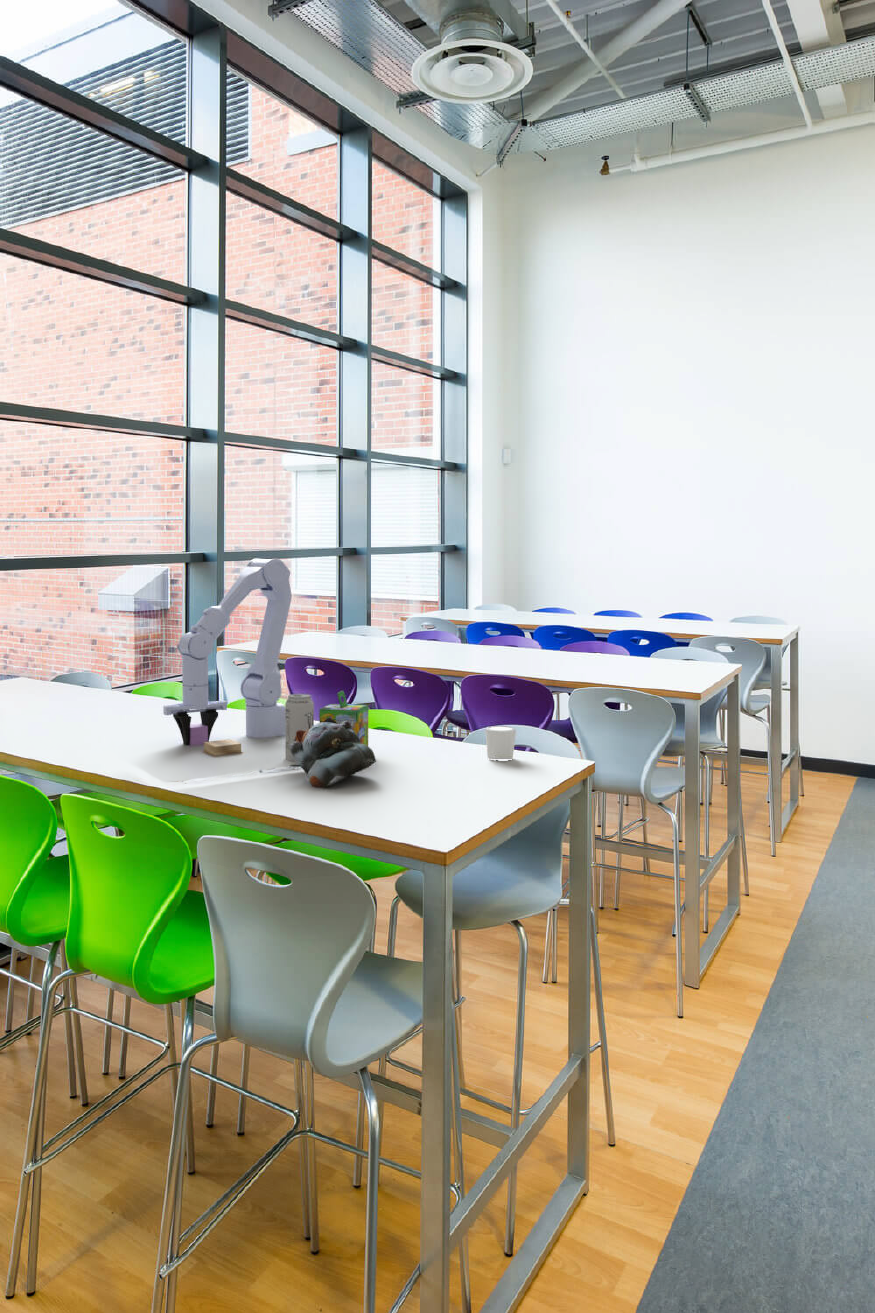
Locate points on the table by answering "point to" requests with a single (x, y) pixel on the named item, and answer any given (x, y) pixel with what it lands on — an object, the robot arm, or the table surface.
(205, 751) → the walnut tile
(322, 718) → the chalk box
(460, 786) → the table surface
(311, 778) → the grey stuffed animal
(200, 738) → the purple block
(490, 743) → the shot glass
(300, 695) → the energy drink can
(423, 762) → the table surface
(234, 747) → the oak tile
